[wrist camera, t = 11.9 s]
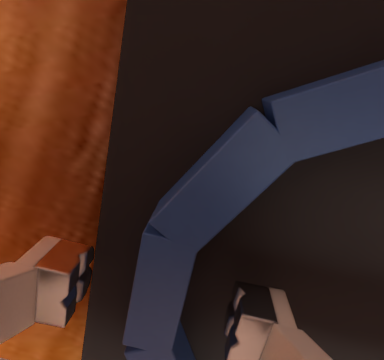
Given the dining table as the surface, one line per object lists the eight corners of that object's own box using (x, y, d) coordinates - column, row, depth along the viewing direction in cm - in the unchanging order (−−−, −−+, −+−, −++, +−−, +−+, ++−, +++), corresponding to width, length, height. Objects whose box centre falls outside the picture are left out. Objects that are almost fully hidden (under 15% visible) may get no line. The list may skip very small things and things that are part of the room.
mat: (143, -93, 8) (139, -102, 7) (926, 79, 7) (962, 79, 7) (74, 429, 14) (71, 439, 14) (500, 531, 14) (508, 544, 13)
